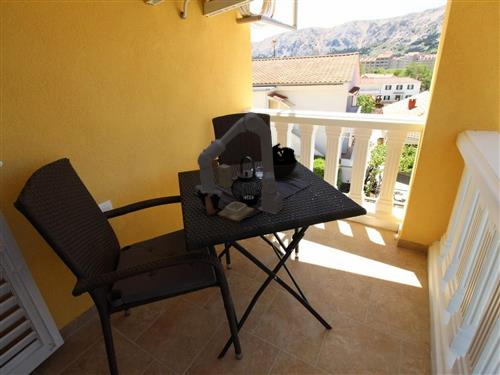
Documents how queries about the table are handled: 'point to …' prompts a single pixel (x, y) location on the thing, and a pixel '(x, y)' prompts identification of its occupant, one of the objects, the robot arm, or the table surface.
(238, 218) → the socket holder
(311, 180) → the table surface
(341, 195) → the table surface
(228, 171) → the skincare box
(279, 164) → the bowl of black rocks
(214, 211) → the peg
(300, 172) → the table surface
